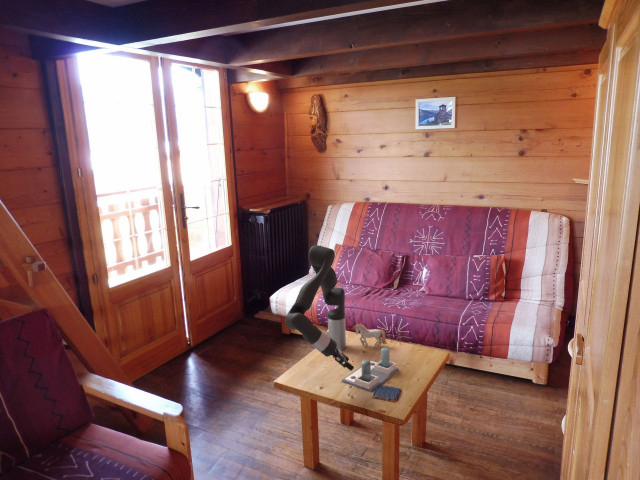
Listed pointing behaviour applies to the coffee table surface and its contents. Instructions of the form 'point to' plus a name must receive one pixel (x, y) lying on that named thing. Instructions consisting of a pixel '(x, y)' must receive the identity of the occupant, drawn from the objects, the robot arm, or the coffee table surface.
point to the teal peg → (366, 371)
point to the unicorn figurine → (370, 335)
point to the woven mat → (387, 393)
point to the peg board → (374, 373)
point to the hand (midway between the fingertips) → (350, 364)
